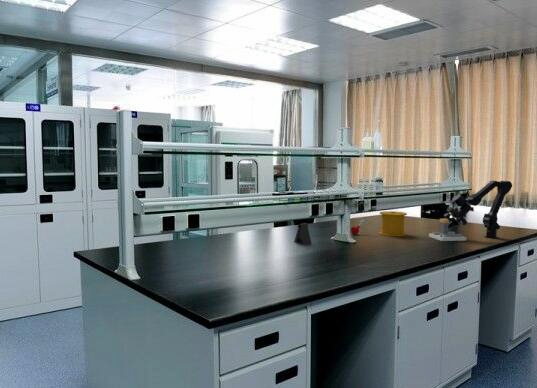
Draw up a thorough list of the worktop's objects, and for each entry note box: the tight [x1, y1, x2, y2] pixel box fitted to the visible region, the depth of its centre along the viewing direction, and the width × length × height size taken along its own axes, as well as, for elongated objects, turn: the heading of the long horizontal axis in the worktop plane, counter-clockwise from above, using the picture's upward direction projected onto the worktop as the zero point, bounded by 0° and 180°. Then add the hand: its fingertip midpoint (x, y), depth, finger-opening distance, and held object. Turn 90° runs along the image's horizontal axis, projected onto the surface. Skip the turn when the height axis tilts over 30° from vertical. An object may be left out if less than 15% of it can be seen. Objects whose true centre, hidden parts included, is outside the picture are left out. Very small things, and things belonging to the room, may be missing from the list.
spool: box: [378, 210, 408, 237], centre depth 301 cm, size 18×18×15 cm
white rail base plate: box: [428, 231, 468, 242], centre depth 286 cm, size 17×16×4 cm
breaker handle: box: [438, 218, 449, 235], centre depth 285 cm, size 4×6×10 cm, turn 9°
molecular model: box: [349, 219, 367, 235], centre depth 298 cm, size 18×6×10 cm, turn 126°
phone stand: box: [293, 222, 312, 245], centre depth 268 cm, size 9×6×12 cm, turn 43°
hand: (446, 228), depth 285 cm, fingers closed, pressing on breaker handle
